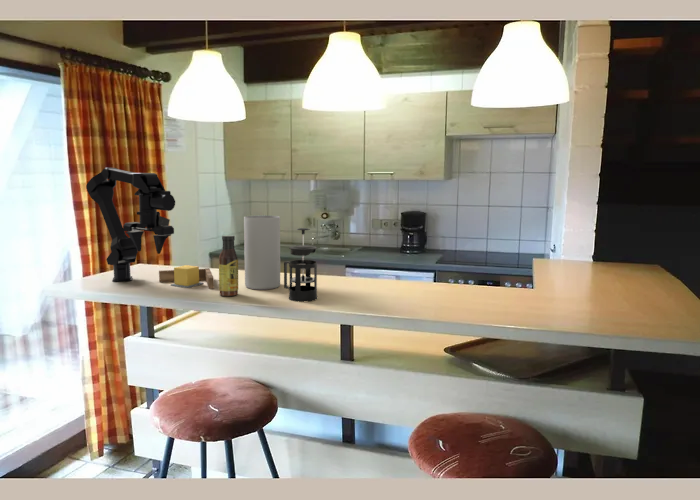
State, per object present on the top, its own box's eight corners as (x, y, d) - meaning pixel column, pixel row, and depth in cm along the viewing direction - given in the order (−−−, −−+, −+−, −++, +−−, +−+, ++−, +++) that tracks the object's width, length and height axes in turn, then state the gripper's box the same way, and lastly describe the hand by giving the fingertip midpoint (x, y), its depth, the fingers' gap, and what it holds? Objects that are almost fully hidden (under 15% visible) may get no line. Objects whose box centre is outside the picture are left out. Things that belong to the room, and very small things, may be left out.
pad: (170, 285, 184) (170, 284, 183) (186, 281, 191) (186, 280, 191) (187, 288, 180) (187, 286, 180) (203, 283, 187) (203, 282, 187)
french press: (323, 296, 171) (324, 227, 167) (313, 303, 162) (313, 230, 159) (290, 293, 174) (290, 225, 171) (279, 299, 165) (278, 228, 162)
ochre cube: (174, 284, 184) (173, 267, 183) (186, 281, 189) (186, 265, 188) (187, 286, 181) (186, 269, 181) (199, 282, 187) (198, 266, 186)
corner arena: (159, 281, 191) (159, 270, 190) (209, 278, 197) (209, 268, 196) (158, 291, 174) (158, 280, 173) (213, 288, 180) (213, 277, 179)
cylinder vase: (274, 281, 193) (273, 215, 189) (284, 288, 182) (284, 217, 178) (241, 284, 188) (240, 215, 184) (250, 291, 176) (249, 218, 173)
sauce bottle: (233, 297, 167) (232, 237, 164) (215, 296, 168) (214, 236, 165) (241, 293, 174) (240, 234, 171) (224, 292, 175) (223, 234, 172)
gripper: (184, 209, 185) (185, 252, 187) (145, 205, 192) (146, 247, 195) (161, 211, 175) (162, 256, 177) (121, 207, 182) (122, 251, 185)
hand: (149, 252), depth 184 cm, fingers open, 9 cm apart
